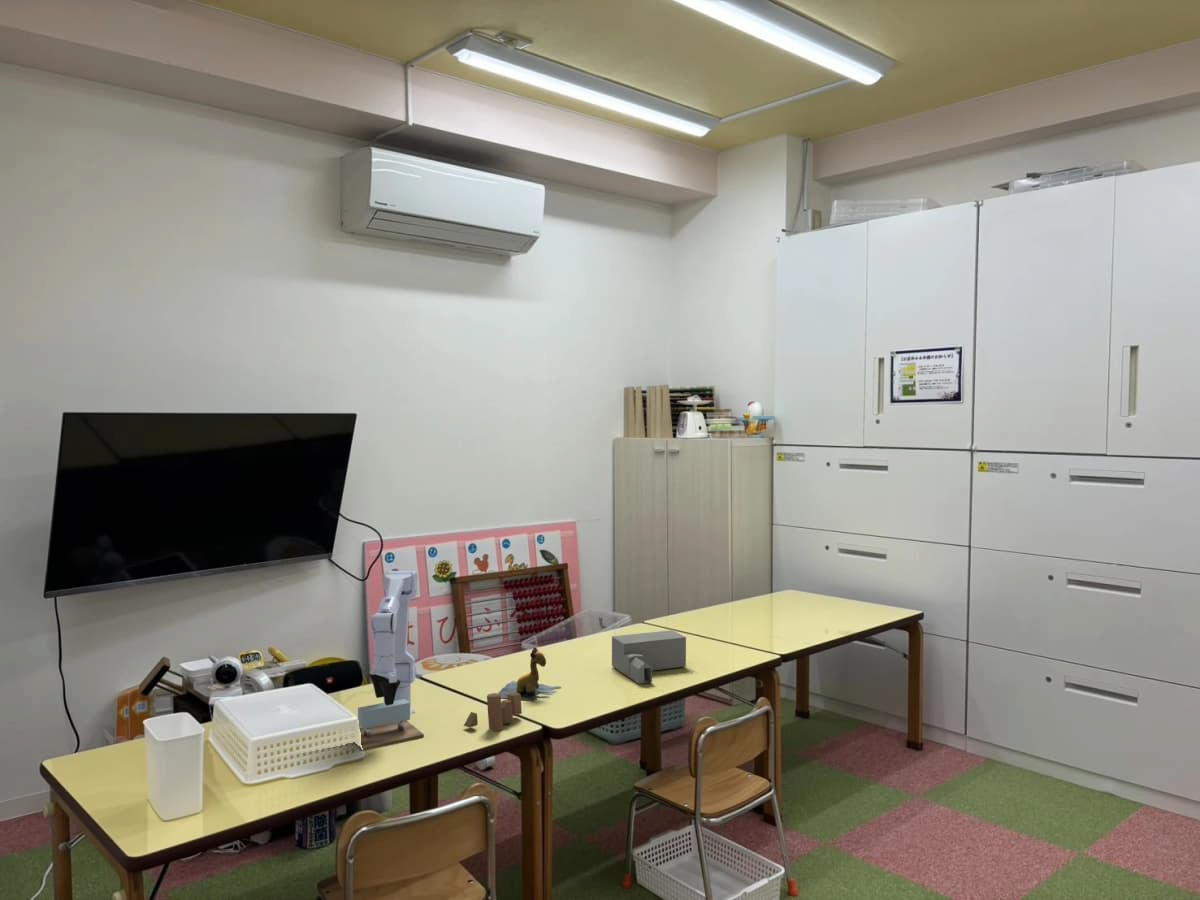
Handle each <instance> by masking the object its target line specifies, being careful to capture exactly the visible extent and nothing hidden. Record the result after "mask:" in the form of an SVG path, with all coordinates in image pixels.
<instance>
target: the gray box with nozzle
mask: <svg viewBox="0 0 1200 900" xmlns="http://www.w3.org/2000/svg"><path fill="white" fill-rule="evenodd" d="M611 666H612V667H614V668H615V669H616V670H617V671H619V672H620V673H622V674H623V675H625V676H626V677H628V678H629V679H631V680H632V681H634V682H635V683H637V684H647V683H648V684H649V683H653V671H659V670H666V669H674V668H675V669H676V668H683V667H687V637H686V636H685V635H683V634H681V633H678V632H677V631H675V630H672V629H670V630H663V631H662V630H661V631H651V632H642V633H633V634H631V633H629V634H624V635H623V634H622V635H620V634H619V635H612V636H611Z"/></svg>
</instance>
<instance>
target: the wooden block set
mask: <svg viewBox="0 0 1200 900" xmlns="http://www.w3.org/2000/svg"><path fill="white" fill-rule="evenodd" d="M498 693H499V692H498ZM498 693H497V692H494V693H488V694H487V695H486V704H487V720H488V721H487V722H488V730H489V729H490V730H493V731H492V732H494V731H496V732H501V731H502V730H503V729H504V727H503V724H505V725H507V724H510V723H512V722H514V716H516V717H517V716H519V715H521V714H522V712H523V711H522V699H521V694H519V693H515V692H514V693H511V694H508V695H507V698H506V699H504V700H502V698H501V695H500V694H498ZM478 721H479V720H478V714H477V713H476V712H472V711H471V712H470V713H469V715H468V716H467V719H466V721H465V722H464V723H463V727H466V728H473V727H476V726H478V725H479V723H478ZM490 730H489V731H490ZM500 730H501V731H500Z"/></svg>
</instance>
